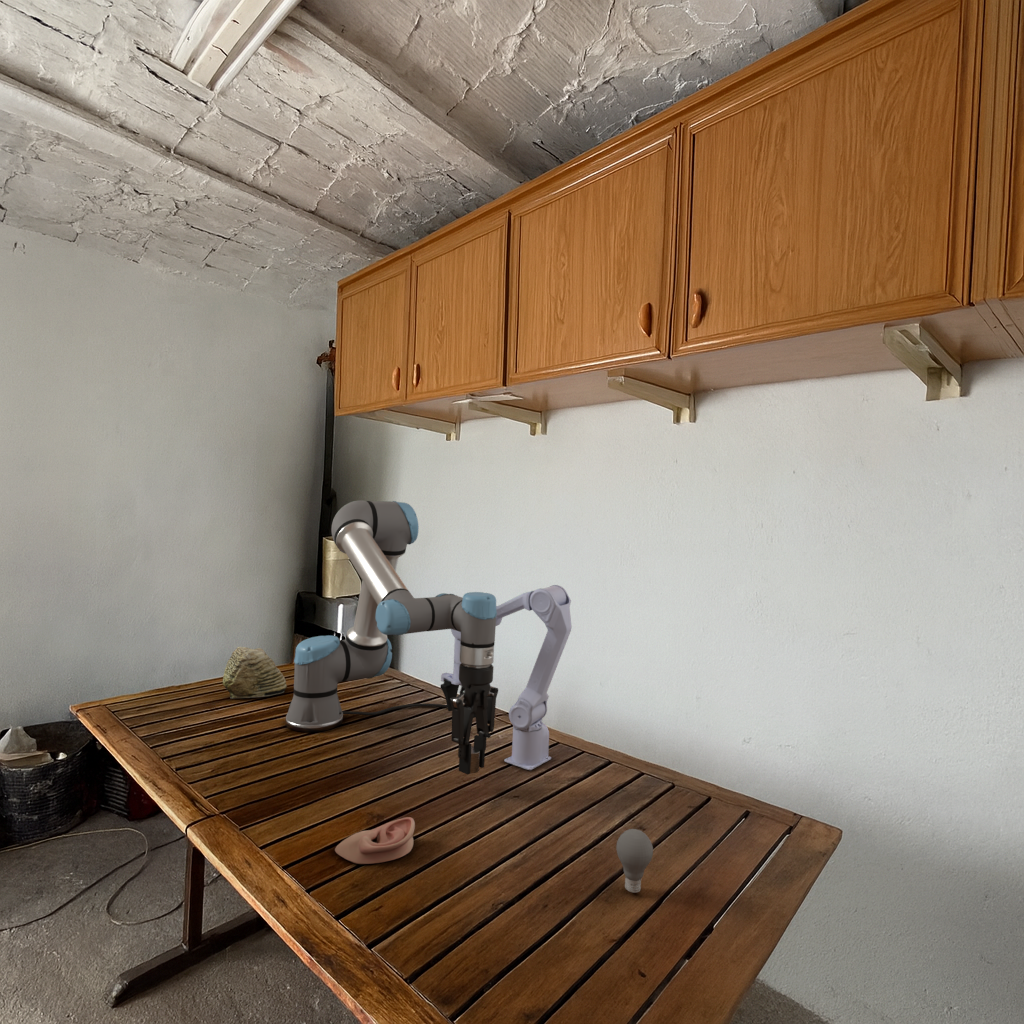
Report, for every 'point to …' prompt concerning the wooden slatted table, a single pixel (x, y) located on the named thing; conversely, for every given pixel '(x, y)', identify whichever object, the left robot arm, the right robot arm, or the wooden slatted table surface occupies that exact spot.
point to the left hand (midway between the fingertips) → (471, 768)
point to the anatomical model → (379, 843)
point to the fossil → (252, 674)
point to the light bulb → (634, 857)
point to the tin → (474, 760)
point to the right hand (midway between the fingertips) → (462, 713)
